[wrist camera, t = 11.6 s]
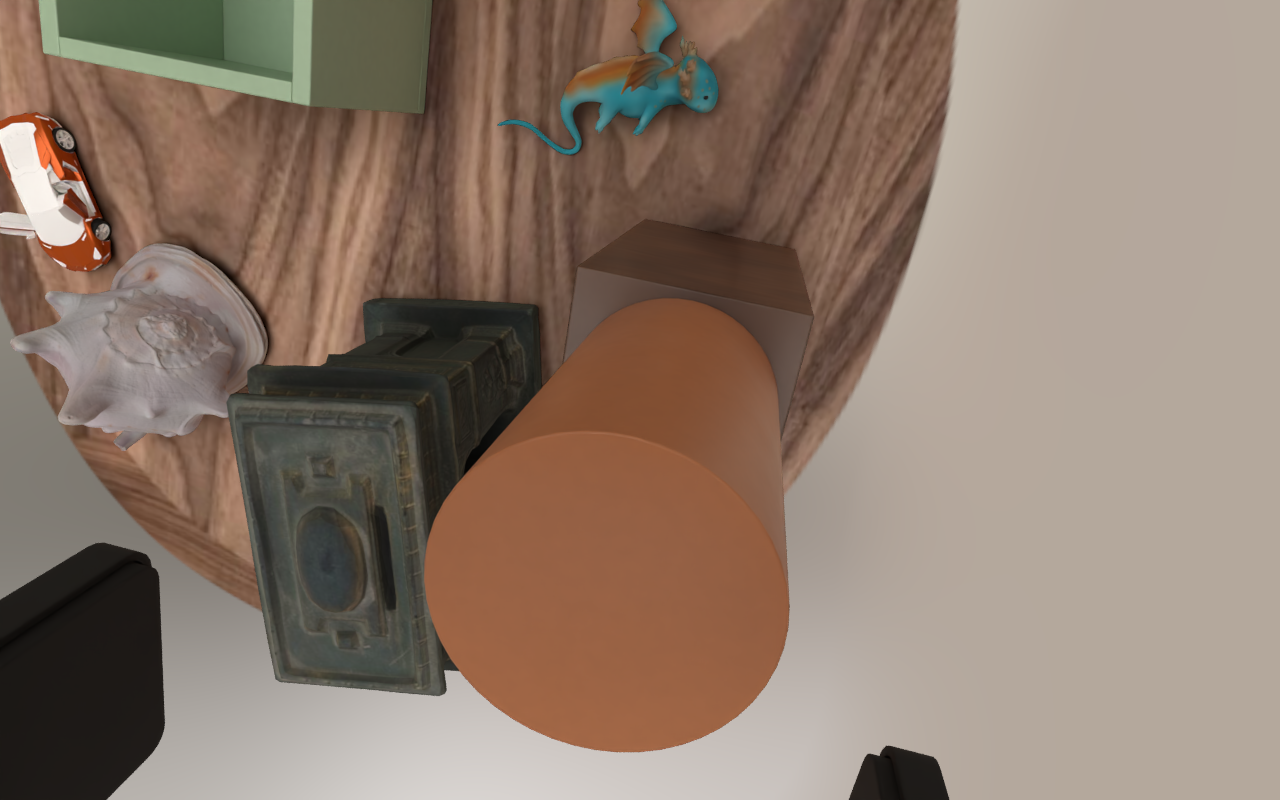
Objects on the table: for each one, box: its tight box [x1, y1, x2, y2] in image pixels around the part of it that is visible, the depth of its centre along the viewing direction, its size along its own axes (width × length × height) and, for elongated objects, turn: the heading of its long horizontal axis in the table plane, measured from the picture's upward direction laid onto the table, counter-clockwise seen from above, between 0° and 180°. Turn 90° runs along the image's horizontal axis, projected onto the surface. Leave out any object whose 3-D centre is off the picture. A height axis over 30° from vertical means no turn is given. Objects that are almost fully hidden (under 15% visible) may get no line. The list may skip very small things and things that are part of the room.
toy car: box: [0, 112, 111, 272], centre depth 39 cm, size 5×8×3 cm, turn 11°
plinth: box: [562, 219, 814, 440], centre depth 30 cm, size 7×7×14 cm
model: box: [226, 298, 542, 696], centre depth 34 cm, size 14×9×15 cm, turn 2°
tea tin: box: [424, 298, 790, 752], centre depth 19 cm, size 7×7×11 cm
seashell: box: [11, 243, 268, 451], centre depth 38 cm, size 10×12×9 cm
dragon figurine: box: [497, 0, 719, 155], centre depth 33 cm, size 7×7×8 cm
